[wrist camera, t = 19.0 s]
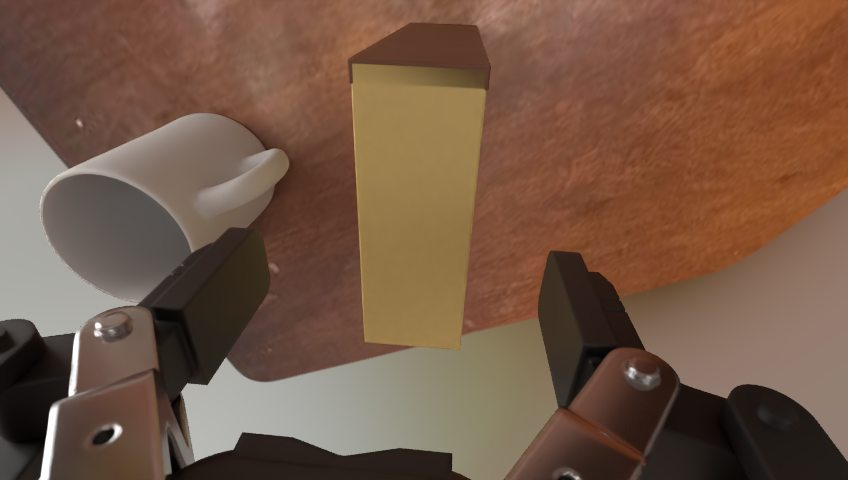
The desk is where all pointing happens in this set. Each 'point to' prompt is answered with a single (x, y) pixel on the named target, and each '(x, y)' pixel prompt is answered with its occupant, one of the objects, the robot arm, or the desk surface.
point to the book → (417, 178)
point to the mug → (158, 201)
